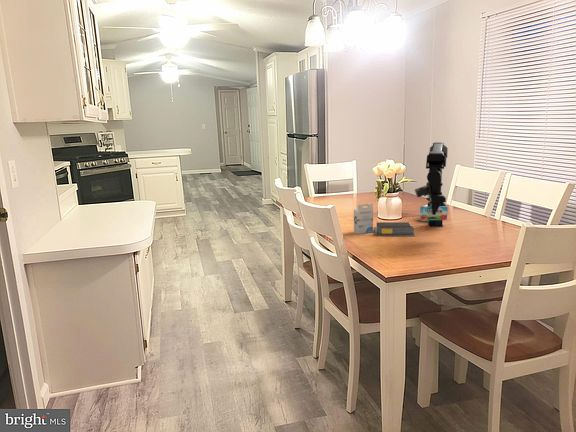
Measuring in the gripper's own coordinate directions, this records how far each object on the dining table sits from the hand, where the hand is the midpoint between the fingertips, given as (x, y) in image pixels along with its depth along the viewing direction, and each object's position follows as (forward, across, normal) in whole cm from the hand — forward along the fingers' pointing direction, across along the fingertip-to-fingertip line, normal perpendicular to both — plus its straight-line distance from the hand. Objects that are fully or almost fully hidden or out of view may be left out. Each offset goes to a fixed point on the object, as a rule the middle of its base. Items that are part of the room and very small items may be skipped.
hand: (433, 214), depth 202 cm
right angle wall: (+13, -40, +9) cm, 43 cm away
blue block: (+3, 0, 0) cm, 3 cm away
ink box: (+12, -13, -31) cm, 36 cm away
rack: (+12, -13, -16) cm, 24 cm away
